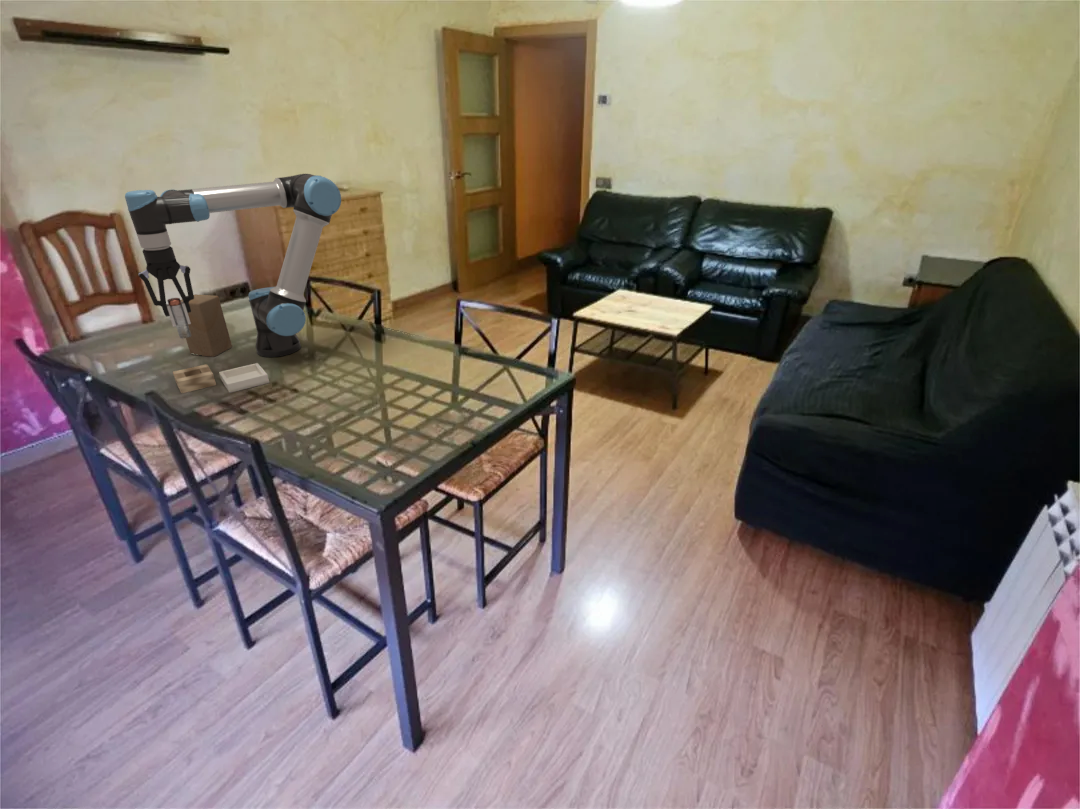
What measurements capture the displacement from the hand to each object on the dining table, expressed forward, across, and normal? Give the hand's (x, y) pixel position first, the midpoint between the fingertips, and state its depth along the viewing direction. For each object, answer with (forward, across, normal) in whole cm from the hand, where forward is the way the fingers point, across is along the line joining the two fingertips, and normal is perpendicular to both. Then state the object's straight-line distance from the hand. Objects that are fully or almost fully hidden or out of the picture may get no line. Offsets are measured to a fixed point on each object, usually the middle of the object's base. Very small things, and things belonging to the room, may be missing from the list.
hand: (181, 324), depth 174 cm
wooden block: (+21, -8, -29) cm, 36 cm away
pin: (+4, 0, 0) cm, 4 cm away
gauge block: (+20, +1, 0) cm, 20 cm away
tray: (+20, -12, +7) cm, 25 cm away
